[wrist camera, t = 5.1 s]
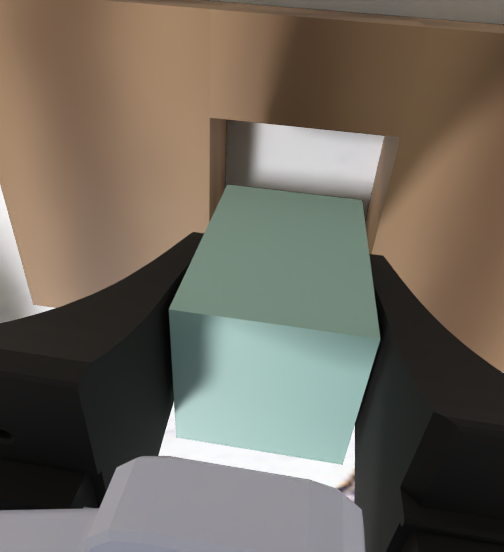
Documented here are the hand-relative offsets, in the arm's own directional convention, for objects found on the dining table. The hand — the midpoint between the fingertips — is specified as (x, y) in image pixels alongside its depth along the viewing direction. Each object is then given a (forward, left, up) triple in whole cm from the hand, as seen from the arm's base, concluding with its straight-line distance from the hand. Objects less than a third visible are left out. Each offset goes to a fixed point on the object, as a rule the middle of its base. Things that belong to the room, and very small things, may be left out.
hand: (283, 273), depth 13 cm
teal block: (0, 0, -2) cm, 2 cm away
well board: (0, 0, -7) cm, 7 cm away
